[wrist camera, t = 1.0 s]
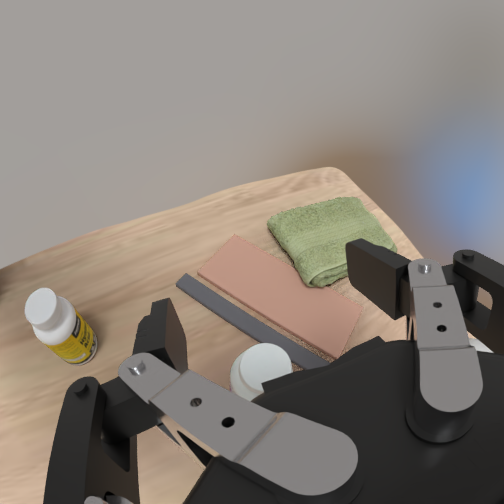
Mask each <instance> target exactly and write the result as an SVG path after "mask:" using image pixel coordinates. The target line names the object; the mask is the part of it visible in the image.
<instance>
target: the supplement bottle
mask: <svg viewBox="0 0 504 504" xmlns="http://www.w3.org/2000/svg"><path fill="white" fill-rule="evenodd" d="M25 316H26V318H27V320H28V321H29V322H30V323H31V324H32V326H33V330H34V333H35V335H36V336H37V338H38V339H39V340H40V341H41V342H42V343H43V344H45V345H46V346H47V347H48V348H50V349H51V350H52V351H53V352H55V353H56V354H57V355H58V356H60V357H61V358H62V359H63V360H65V361H66V362H68V363H70V364H72V365H83V364H85V363H87V362H88V361H90V360H91V359H92V357H93V356H94V354H95V352H96V349H97V338H96V335H95V333H94V331H93V330H92V329H91V327H90V326H89V325H88V324H87V323H86V322H85V320H84V319H83V318H82V317H81V315H80V314H79V313H78V312H77V310H76V309H75V308H74V307H73V305H72V304H71V303H70V302H69V301H68V300H67V299H65V298H63V297H60V296H57V295H56V294H55V293H54V292H53V291H52V290H51V289H49V288H40V289H37V290H36V291H34V292H33V293H32V294H31V295H30V296H29V298H28V299H27V301H26V304H25Z"/></svg>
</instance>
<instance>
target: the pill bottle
mask: <svg viewBox="0 0 504 504" xmlns="http://www.w3.org/2000/svg"><path fill="white" fill-rule="evenodd" d="M292 372H293V370H292V364H291V360H290V358H289V356H288V354H287V353H286V352H285V351H284V350H283V349H282V348H280V347H279V346H277V345H274V344H270V343H260V344H257V345H254V346H252V347H250V348H249V349H248V350H246V351H244V352H243V353H241V354H240V355H239V356H238V357H237V358H236V360H235V361H234V363H233V365H232V367H231V370H230V392H232V393H234V394H236V395H238V396H240V397H242V398H244V399H246V400H248V401H251V400H252V399H254V398H255V397H257V396H258V395H260V394H262V393H263V392H264V391H263V388H262V385H261V383H263V382H266V381H269V380H272V379H275V378H278V377H281V376H283V375H286V374H289V373H292Z"/></svg>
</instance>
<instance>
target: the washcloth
mask: <svg viewBox="0 0 504 504" xmlns="http://www.w3.org/2000/svg"><path fill="white" fill-rule="evenodd" d="M267 226H268V228H269V230H270V231H271V232H272V234H273V235H274V236H275V238H276V239H277V241H278V242H279V243H280V245H281V247H282V248H283V249H284V250H286V251H287V253H288V254H289V256H290V257H291V258H292V260H293V261H294V266H295V268H296V270H298V272H299V274H300V276H301V278H302V280H303V282H304V283H305V284H306V285H307V286H309V287H316V286H318V287H324V286H325V285H328V284H332V283H333V282H334V281H336V280H338V279H339V278H344V277H346V276H348V271H347V261H346V252H345V245H346V243H347V242H350V241H353V240H356V239H359V238H363V239H365V240H367V241H369V242H371V243H373V244H375V245H379V246H384V247H386V248H388V249H390V250H391V251H393V252H395V253H397V247H396V245H395V244H394V243H393V241H392V239H391V238H390V237H389V235H388V234H387V233H386V232H385V231H384V230H383V228H382V227H381V225H380V223H379V221H378V220H377V218H376V217H375V216H374V215H373V214H372V213H370V212H369V211H368V210H367V209H366V208H365V207H364V205H363V203H362V201H361V200H360V199H358V198H354V197H342V198H341V197H338V198H335V199H332V200H328V201H324V202H320V203H315V204H311V205H308V206H305V207H297V208H295V209H291V210H287V211H285V212H280V213H279V214H277V215H275V216H272V217H271V218H270V219H269V220H268V221H267Z"/></svg>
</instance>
